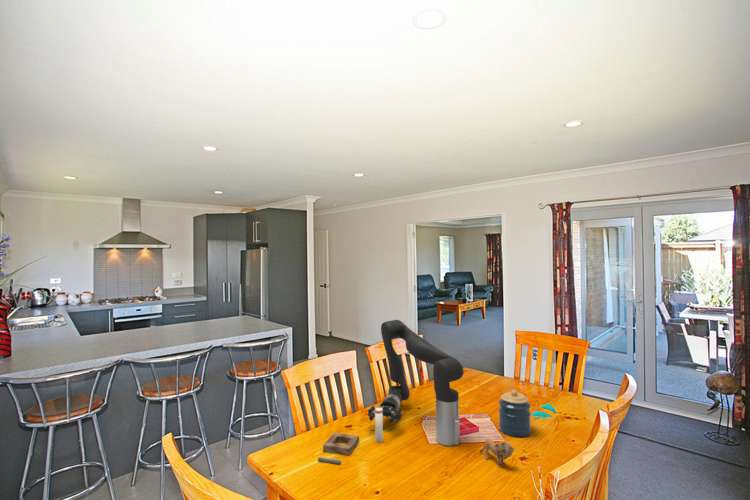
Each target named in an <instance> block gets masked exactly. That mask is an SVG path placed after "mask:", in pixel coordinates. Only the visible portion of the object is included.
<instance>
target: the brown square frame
mask: <svg viewBox="0 0 750 500" xmlns="http://www.w3.org/2000/svg"><path fill="white" fill-rule="evenodd" d="M359 443H360V435H354V434H347V433H340V432H333V433H332V435H331V436H330V437H329V438H328V439H327V440H326V441H325V442H324V443H323V445H322V452H324V453H331V454H336V455H342V456H343V455H344V456H351V454H352V453H353V452H354V450H355V449H356V448H357V446H358V445H359Z"/></svg>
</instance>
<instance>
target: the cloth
mask: <svg viewBox="0 0 750 500" xmlns="http://www.w3.org/2000/svg"><path fill="white" fill-rule="evenodd" d="M554 403H555V402H553V403H552V404H554ZM540 407H541V408H544V409H547V410H550V411H552V412H554V413H557V412H556V411H555V409H554V408H553V407H552V406H551V404H550V403H548V402H547V403H546V404H543V405H541V406H540ZM539 411H540V410H538V409H537V410H535V411H534V412H531V415H530V416H532V415H533V416H539V417H533V416H532V417H533V418H534V419H533V420H539V419H538V418H540V417H542V418H545V419H547V418H546V417H552V416H551V415H549V414H546V413H544V412H539Z"/></svg>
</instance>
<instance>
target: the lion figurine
mask: <svg viewBox="0 0 750 500" xmlns="http://www.w3.org/2000/svg"><path fill="white" fill-rule="evenodd" d="M484 450H485V451H484ZM489 450H490V452H489ZM514 451H515V448H514V447H513V446H512V445H511V443H510V442H509V441H504V442H501V443H500V442H499V443H495V442H494V441H493V440H492V439H490V438H486V439H485V441H484V446H483V448H482V449H481V450H479V452H480V453H483V452H484V455H485V457H484V460H489V457H488V455H490V453H492V454H493V455H494V456H496V461H497V468H499V469H500V468H502V465H503V466H505V465H506V463H505V462H504V460H507V459H508V458H511V457H512V456H513V452H514Z"/></svg>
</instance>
